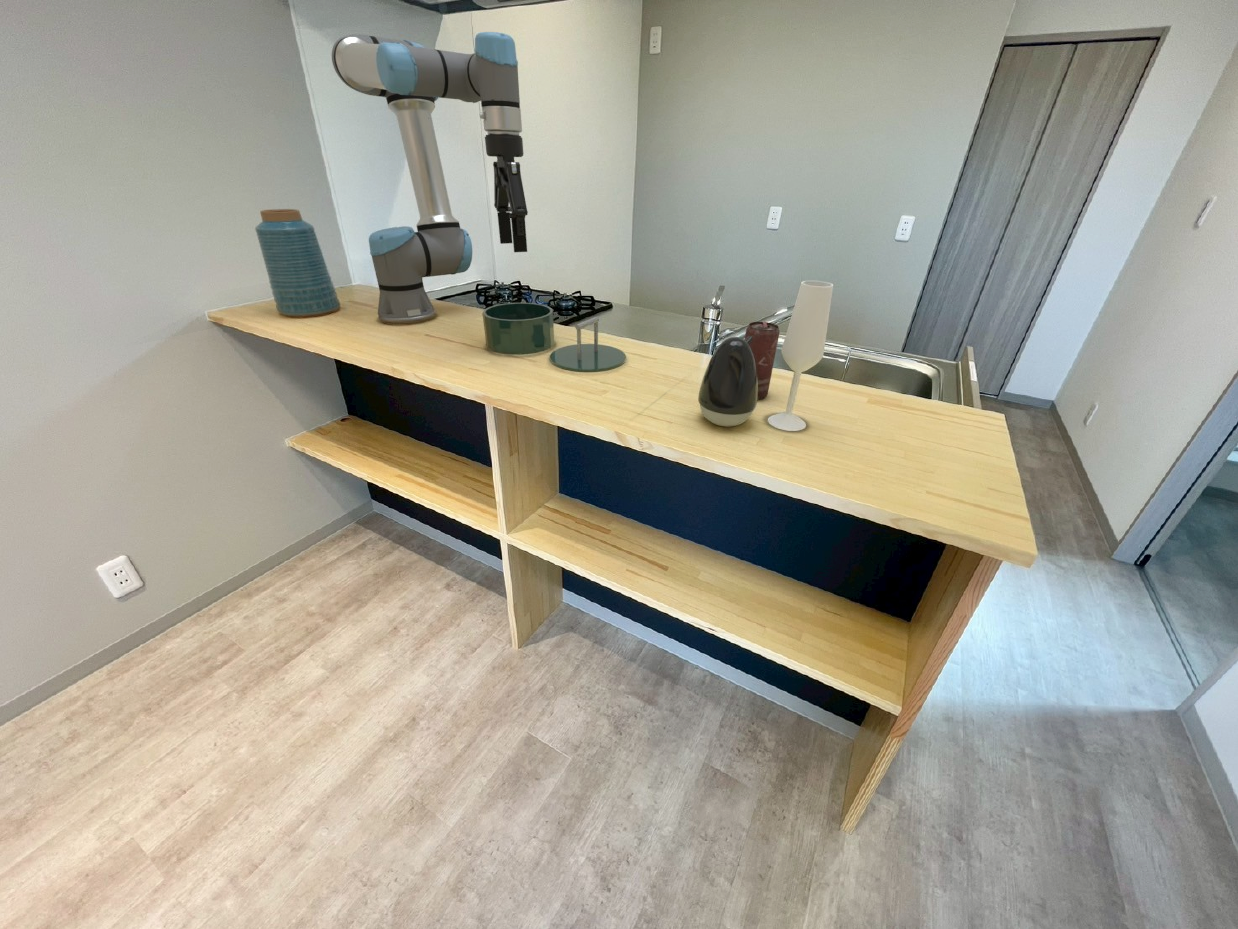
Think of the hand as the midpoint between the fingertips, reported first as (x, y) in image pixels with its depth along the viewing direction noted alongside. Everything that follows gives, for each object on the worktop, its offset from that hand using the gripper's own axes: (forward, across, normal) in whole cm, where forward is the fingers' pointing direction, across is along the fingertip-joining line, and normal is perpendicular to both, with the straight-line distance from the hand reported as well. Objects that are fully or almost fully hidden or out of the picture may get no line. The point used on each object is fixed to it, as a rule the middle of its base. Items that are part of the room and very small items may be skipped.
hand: (513, 247), depth 111 cm
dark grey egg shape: (+23, +54, +24) cm, 63 cm away
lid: (+22, +16, +12) cm, 30 cm away
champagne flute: (+23, +59, +34) cm, 72 cm away
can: (+23, +46, +36) cm, 63 cm away
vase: (+23, -53, -50) cm, 77 cm away
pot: (+23, 0, 0) cm, 23 cm away
